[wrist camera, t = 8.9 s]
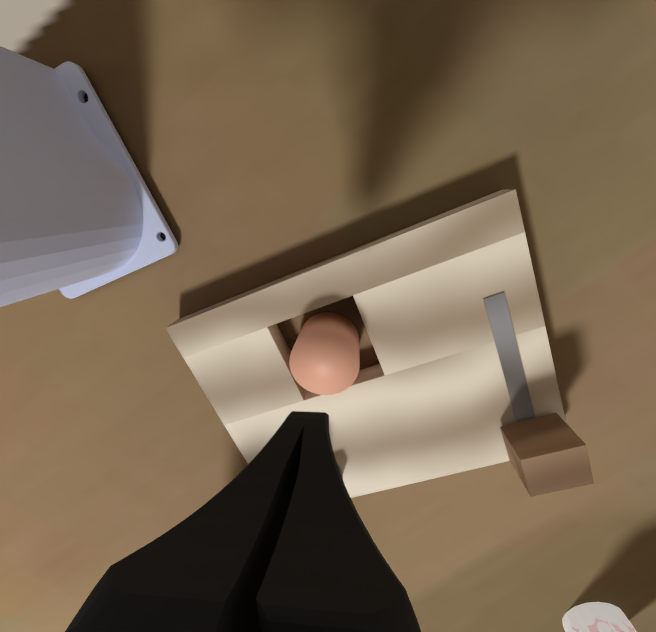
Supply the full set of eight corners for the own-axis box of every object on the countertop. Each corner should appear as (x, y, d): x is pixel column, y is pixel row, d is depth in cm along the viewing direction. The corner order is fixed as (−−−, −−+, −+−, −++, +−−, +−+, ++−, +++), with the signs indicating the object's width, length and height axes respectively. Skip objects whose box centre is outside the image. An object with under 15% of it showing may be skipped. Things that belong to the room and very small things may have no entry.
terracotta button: (289, 323, 19) (277, 345, 17) (345, 303, 19) (343, 322, 16) (313, 374, 20) (306, 402, 18) (367, 356, 20) (369, 383, 17)
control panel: (178, 318, 20) (151, 337, 17) (501, 189, 16) (530, 188, 13) (283, 496, 24) (274, 532, 22) (556, 428, 20) (585, 463, 18)
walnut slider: (499, 426, 18) (520, 460, 16) (556, 412, 18) (586, 445, 16) (509, 459, 19) (530, 496, 17) (564, 447, 19) (593, 483, 16)
